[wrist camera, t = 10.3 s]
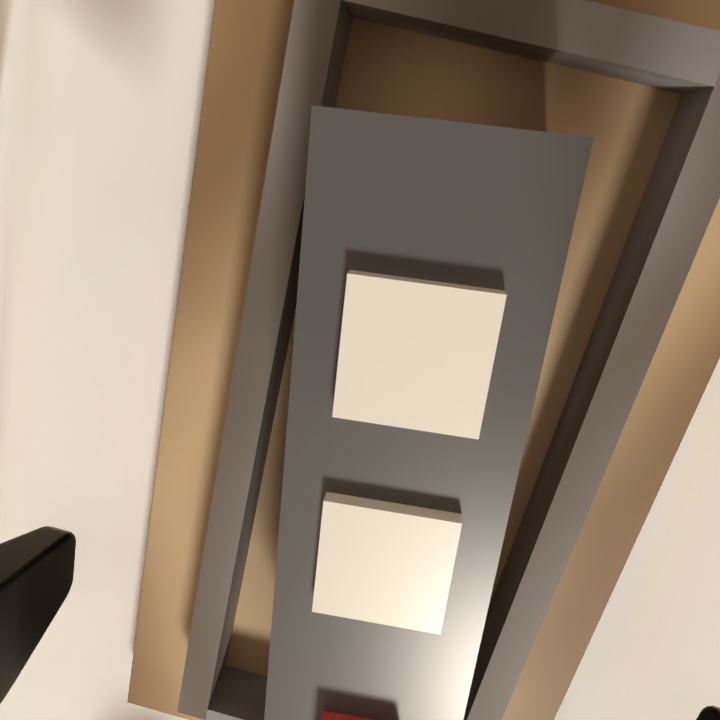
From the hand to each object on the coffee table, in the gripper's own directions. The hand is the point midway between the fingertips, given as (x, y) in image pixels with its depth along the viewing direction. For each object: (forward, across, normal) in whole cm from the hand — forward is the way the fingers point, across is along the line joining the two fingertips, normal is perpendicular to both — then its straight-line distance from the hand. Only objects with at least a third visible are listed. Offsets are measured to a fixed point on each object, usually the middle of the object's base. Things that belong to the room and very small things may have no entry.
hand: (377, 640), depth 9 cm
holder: (+8, 0, 0) cm, 8 cm away
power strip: (+7, 0, 0) cm, 7 cm away
